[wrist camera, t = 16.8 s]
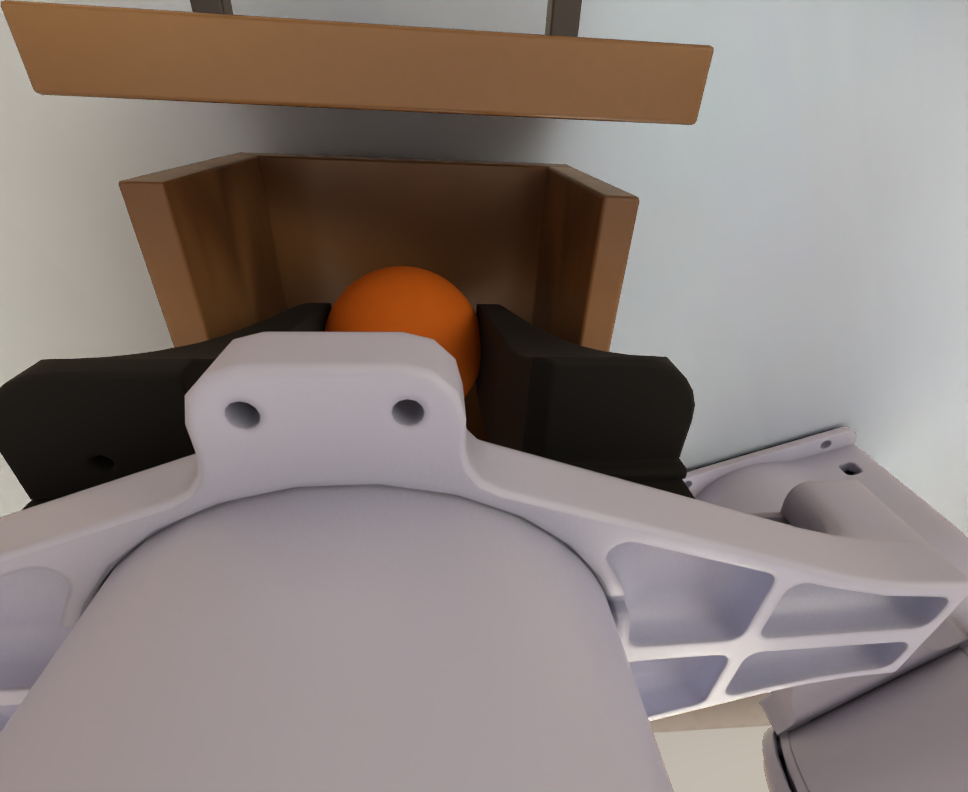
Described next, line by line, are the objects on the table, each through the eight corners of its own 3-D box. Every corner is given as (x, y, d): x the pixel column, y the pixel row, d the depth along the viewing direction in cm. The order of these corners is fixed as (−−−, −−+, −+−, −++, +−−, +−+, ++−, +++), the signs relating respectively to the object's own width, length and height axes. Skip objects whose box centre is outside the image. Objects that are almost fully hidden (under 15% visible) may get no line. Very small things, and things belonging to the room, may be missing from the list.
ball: (312, 275, 13) (268, 336, 10) (449, 226, 13) (455, 272, 9) (374, 392, 16) (357, 476, 12) (493, 353, 15) (511, 428, 12)
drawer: (129, -234, 10) (-273, -679, 4) (634, -177, 11) (843, -473, 5) (285, 441, 20) (224, 578, 14) (548, 435, 21) (590, 560, 15)
